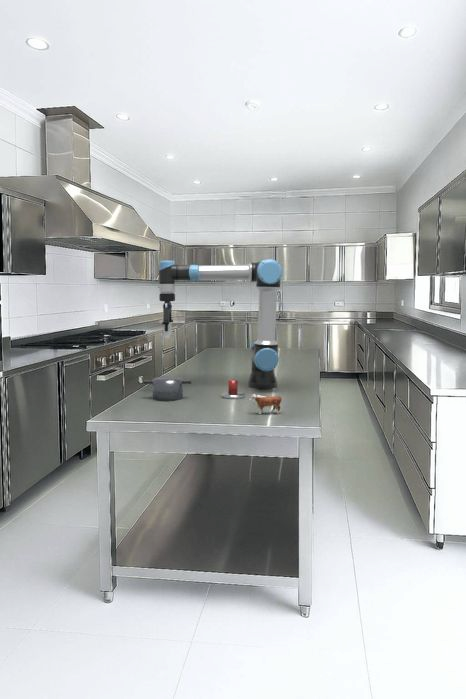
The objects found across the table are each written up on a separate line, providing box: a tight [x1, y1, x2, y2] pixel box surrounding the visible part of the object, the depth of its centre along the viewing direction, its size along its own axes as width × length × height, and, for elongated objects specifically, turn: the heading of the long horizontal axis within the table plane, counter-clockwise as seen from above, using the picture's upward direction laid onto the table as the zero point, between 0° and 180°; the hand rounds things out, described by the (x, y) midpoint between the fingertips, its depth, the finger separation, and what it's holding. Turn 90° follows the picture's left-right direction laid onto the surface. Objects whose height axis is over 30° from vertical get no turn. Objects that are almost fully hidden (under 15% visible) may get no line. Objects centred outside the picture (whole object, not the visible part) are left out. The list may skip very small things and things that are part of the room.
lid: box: [220, 379, 246, 400], centre depth 261 cm, size 11×11×8 cm
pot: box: [142, 375, 192, 402], centre depth 257 cm, size 22×14×9 cm, turn 92°
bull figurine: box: [248, 393, 282, 416], centre depth 228 cm, size 4×13×8 cm, turn 95°
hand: (167, 336), depth 270 cm, fingers open, 13 cm apart
